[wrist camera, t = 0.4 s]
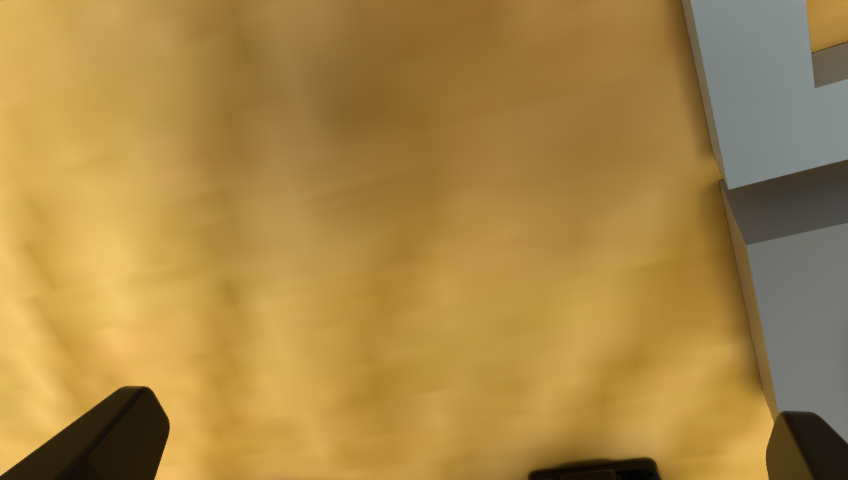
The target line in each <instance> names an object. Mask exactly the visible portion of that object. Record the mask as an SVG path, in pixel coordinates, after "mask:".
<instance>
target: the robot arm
mask: <svg viewBox="0 0 848 480" xmlns="http://www.w3.org/2000/svg"><path fill="white" fill-rule="evenodd" d="M169 429H170V423H169V419H168V417H167V415H166V413H165V411H164V410H163V408H162V406H161V404H160V403H159V401H158V399H157V397H156V396H155V394H154V392H153V391H152V390H151V389H150V388H148V387H145V386H124V387H121V388H119V389H118V390H116V391H115V392H114V393H112V394H111V395H110V396H108V397H107V398H105V399H104V400H103V401H101V402H100V403H99V404H97V405H96V406H95V407H93V408H92V409H91V410H89V411H88V412H86V413H85V414H84V415H82V416H81V417H80V418H78V419H77V420H76V421H74V422H73V423H72V424H70V425H69V426H68V427H66V428H65V429H63V430H62V431H61V432H59V433H58V434H57V435H55V436H54V437H53V438H51V439H50V440H49V441H47V442H46V443H44V444H43V445H42V446H40V447H39V448H38V449H36V450H35V451H34V452H32V453H31V454H30V455H28V456H27V457H26V458H24V459H23V460H21V461H20V462H19V463H17V464H16V465H15V466H13V467H12V468H11V469H9V470H8V471H7V472H5V473H4V474H2V475H1V476H0V480H154V479H155V476H156V473H157V470H158V467H159V463H160V460H161V457H162V454H163V451H164V448H165V445H166V442H167V439H168V435H169ZM766 465H767V471H768V476H769V480H848V443H847V442H846V441H845V440H844V439H843V438H842V437H841V436H840V435H839V434H838V433H837V432H836V431H835V430H834V429H833V428H832V427H831V426H830V425H829V424H828V423H827V422H826V421H825V420H824V419H823V418H821V417H820V416H819V415H817V414H815V413H813V412H807V411H782V412H780V413H779V414H778V415H777V417H776V420H775V423H774V426H773V430H772V433H771V436H770V439H769V443H768V446H767V450H766ZM528 480H662V478H661V475H660V472H659V470H658V467H657V465H656V464H655V463H653V462H650V461H640V462H632V463H623V464H614V465H605V466H597V467H588V468H579V469H571V470H562V471H553V472H544V473H536V474H531V475H530V476H529V477H528Z"/></svg>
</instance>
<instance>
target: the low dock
mask: <svg viewBox="0 0 848 480" xmlns="http://www.w3.org/2000/svg"><path fill="white" fill-rule="evenodd" d="M682 5H683V9H684V14H685V19H686V24H687V29H688V34H689V38H690V43H691V48H692V53H693V58H694V62H695V67H696V72H697V77H698V82H699V86H700V91H701V96H702V101H703V106H704V110H705V115H706V120H707V125H708V130H709V134H710V139H711V144H712V149H713V154H714V157H715V160H716V162H717V164H718V167H719V169H720V171H721V173H722V176H723V178H724V180H725V183H726V185H727V187H728V190H729V189H733V188H737V187H741V186H745V185H749V184H752V183H756V182H760V181H764V180H768V179H772V178H776V177H780V176H784V175H788V174H792V173H796V172H800V171H804V170H808V169H811V168H815V167H819V166H823V165H827V164H831V163H835V162H839V161H843V160H847V159H848V42H846V43H843V44H840V45H837V46H834V47H830V48H827V49H824V50H821V51H818V52H815V53H811V46H810V36H809V26H808V17H807V7H806V0H682Z"/></svg>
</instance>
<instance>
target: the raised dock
mask: <svg viewBox="0 0 848 480" xmlns="http://www.w3.org/2000/svg"><path fill="white" fill-rule="evenodd" d="M719 182H720V187H721V192H722V197H723V202H724V206H725V211H726V216H727V221H728V226H729V230H730V235H731V240H732V245H733V250H734V254H735V259H736V264H737V269H738V274H739V278H740V283H741V288H742V293H743V298H744V302H745V307H746V312H747V317H748V322H749V326H750V331H751V336H752V341H753V346H754V350H755V355H756V360H757V365H758V370H759V374H760V379H761V384H762V389H763V392H764V395H765V398H766V401H767V404H768V407H769V409H770V412H771V415H772V418H773V421H774V423H775V420H776V417H777V415H778V414H779V413H780V412H782V411H807V412H813V413H815V414H817V415H819V416H820V417H821V418H823V419H824V420H825V421H826V422H827V423H828V424H829V425H830V426H831V427H832V428H833V429H834V430H835V431H836V432H837V433H838V434H839V435H840V436H841V437H842V438H843V439H844V440H845V441H846V442H847V443H848V159H847V160H843V161H839V162H835V163H831V164H827V165H823V166H819V167H815V168H811V169H808V170H804V171H800V172H796V173H792V174H788V175H784V176H780V177H776V178H772V179H768V180H764V181H760V182H756V183H752V184H749V185H745V186H741V187H737V188H733V189H729V190H728V187H727V185H726V183H725V180H721V181H719Z"/></svg>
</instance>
